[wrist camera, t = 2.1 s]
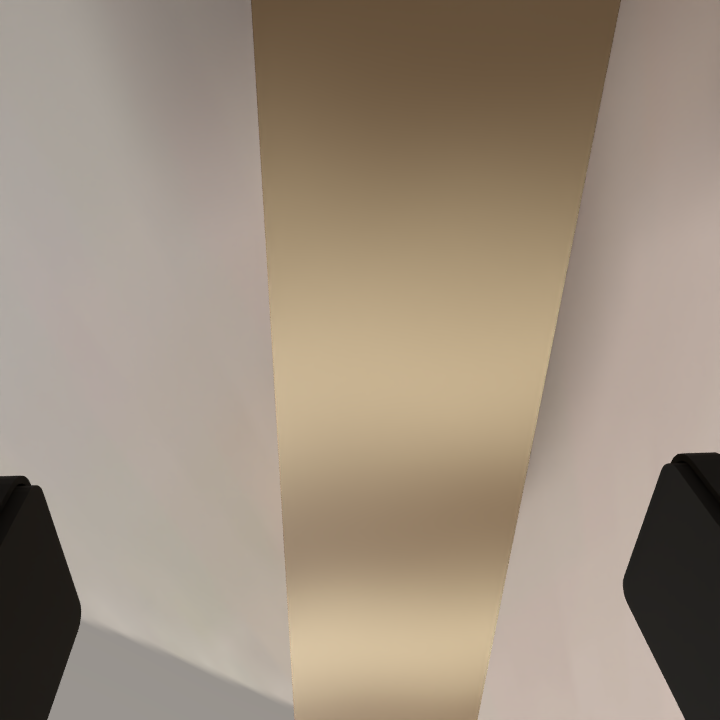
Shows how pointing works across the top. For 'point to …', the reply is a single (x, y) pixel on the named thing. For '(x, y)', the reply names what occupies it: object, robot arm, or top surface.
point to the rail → (413, 319)
